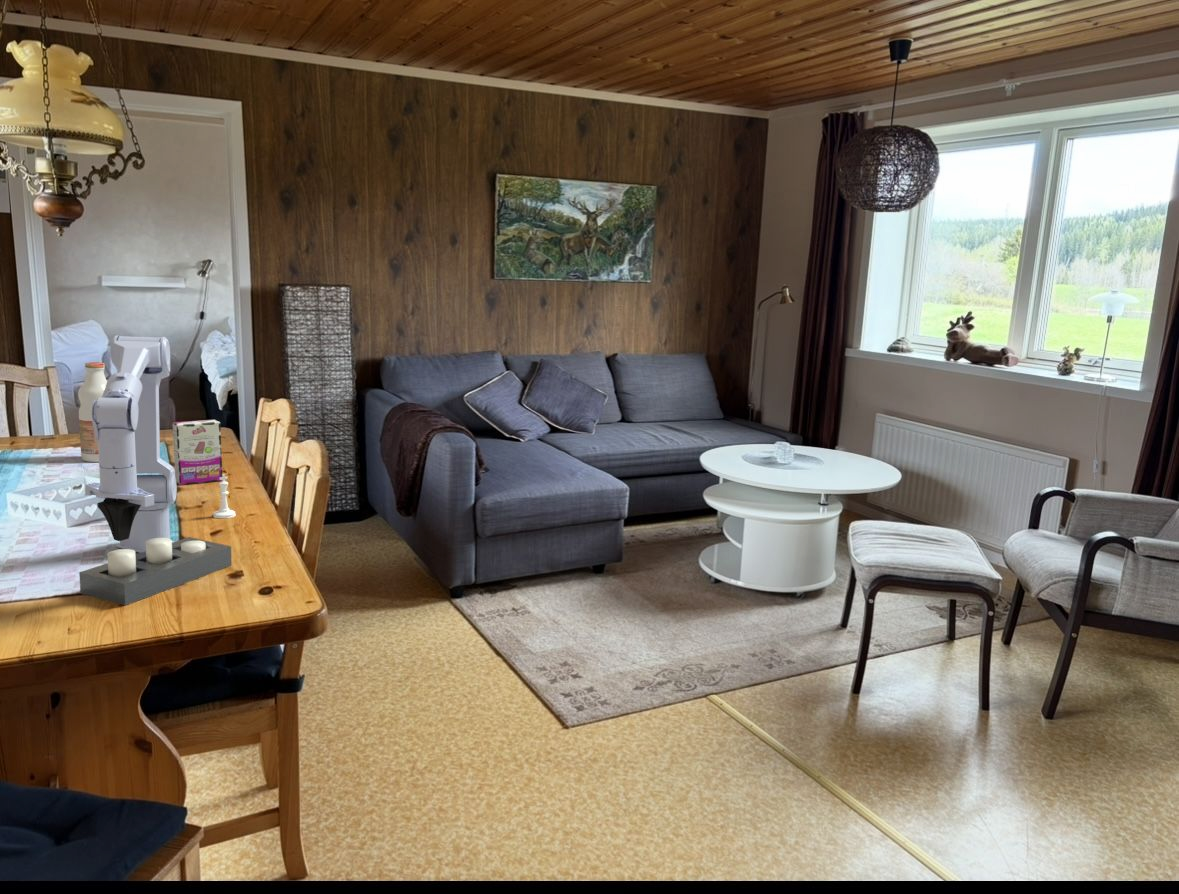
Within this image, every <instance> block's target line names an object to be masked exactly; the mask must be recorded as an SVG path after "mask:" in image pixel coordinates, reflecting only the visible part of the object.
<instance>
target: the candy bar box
mask: <svg viewBox="0 0 1179 894" xmlns="http://www.w3.org/2000/svg"><path fill="white" fill-rule="evenodd" d="M221 428H222V427H221V422H220V421H218V420H216V419H206V420H205V419H204V420H192V421H189V420H188V421H175V422H172V437H173V439H172V441H173V459H174V470H175V478H176V484H178V485H179V486H188V485H195V484H205V483H212V482H213V483H214V482H215V483H216V482H222V480H220V477H222V475H223V457H222V437H221V436H222V432H221Z"/></svg>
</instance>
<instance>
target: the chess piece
mask: <svg viewBox="0 0 1179 894" xmlns="http://www.w3.org/2000/svg"><path fill="white" fill-rule="evenodd" d="M227 479H229V478H228V476H226V474H223V473H222V477H220V480H222V481H219V483H218V485H219V487H220V491H219V492H218V494H219V495H221V501H220V507H219V509H218V510H216V511H214V512H213V518H214V519H215V518H216V519H221V520H222V519H231V518H234V517H235V516H237V515H236V511H235V510H233V509H230V508H229V506H228V499H227V495H228V494H230V492H229V490H228V486H229V482H228V481H226V480H227Z"/></svg>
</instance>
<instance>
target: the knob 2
mask: <svg viewBox="0 0 1179 894" xmlns="http://www.w3.org/2000/svg"><path fill="white" fill-rule="evenodd" d="M204 549H206V545H205V542H204V541H187V542H184V543H182V544H181V551H184V552H189V553H195V552H198V551H201V550H204Z"/></svg>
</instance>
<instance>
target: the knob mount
mask: <svg viewBox="0 0 1179 894" xmlns="http://www.w3.org/2000/svg"><path fill="white" fill-rule="evenodd" d="M187 541H204V542H205V545H206V549H204V550H201V551H198V552H195V553H189V552H184V551H181V544H182V543H184V542H187ZM135 557H136V573H134V574H131V575H128V576H125V577H122V578H117V577H113V576H109V575H108V562H107V563H105V564H104V563H103V564H101V565H98V566H95V567H92V568H89V569H86V570H82V571H79V573H78V575H79V588H80V589H79V590H80V594H81V595H83V596H84V595H85V596H89V597H92V598H96V599H98V600H104V601H107V602H111V603H115V604H117V605H118V604H119V605H122V606H128V605H131V604H134V603H136V602H139V601H142V600H143V599H146V598H149V597H152V596H154V595H157V594H159V593H162V592H165V591H168V590H170V589H173V588H176V587H178V586H181V585H183V584H186V583H188V582H189V583H190V582H191V581H194V580H197V579H200V578H201V577H205V576H208V575H210V574H213V573H216V572H217V571H220V570H223V569H226V568H229V567H231V566H232V546H230V545H226V544H222V543H217V542H213V541H209V540H204V539H199V538H195V537H191V536H189V537H186V538H183V539H179V540H176V541H175V542H173V543H172V561H169V562H166V563H163V564H160V565H155V564H151V563H147V562H146V551H144V552H141V553H139V552H137V553H135Z"/></svg>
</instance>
